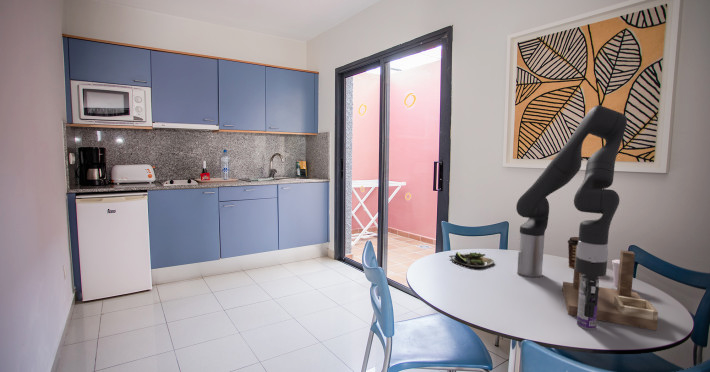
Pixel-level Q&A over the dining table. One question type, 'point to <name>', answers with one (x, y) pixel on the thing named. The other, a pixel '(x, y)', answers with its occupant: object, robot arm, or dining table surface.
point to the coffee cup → (572, 250)
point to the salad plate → (472, 260)
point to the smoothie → (615, 271)
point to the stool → (616, 298)
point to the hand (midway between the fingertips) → (587, 312)
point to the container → (581, 318)
